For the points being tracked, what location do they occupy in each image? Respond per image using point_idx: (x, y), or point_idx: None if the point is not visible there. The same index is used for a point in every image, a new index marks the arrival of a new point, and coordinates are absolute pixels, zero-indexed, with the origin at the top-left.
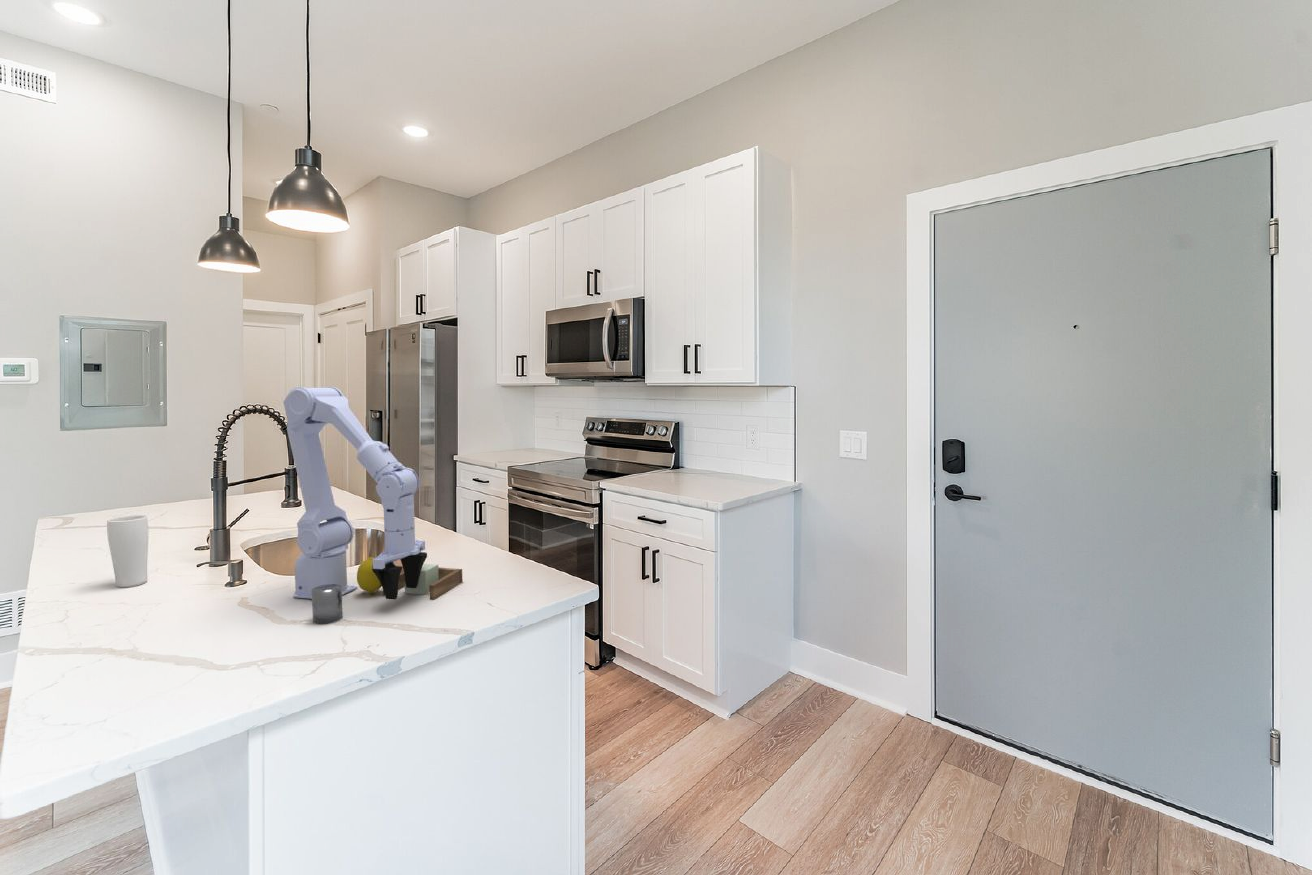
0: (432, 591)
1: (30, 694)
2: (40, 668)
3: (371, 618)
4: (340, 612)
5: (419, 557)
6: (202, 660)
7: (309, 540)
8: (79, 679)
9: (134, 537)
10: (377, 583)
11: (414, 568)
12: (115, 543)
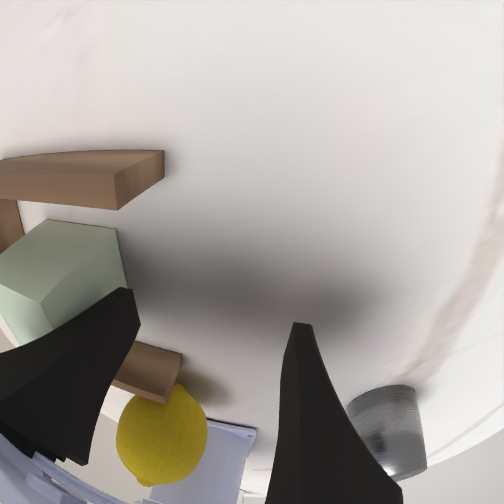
0: (138, 172)
1: (477, 443)
2: (428, 465)
3: (415, 324)
4: (395, 402)
5: (14, 413)
6: (483, 417)
7: None
8: (467, 444)
9: None
10: (181, 409)
11: (72, 373)
12: None
